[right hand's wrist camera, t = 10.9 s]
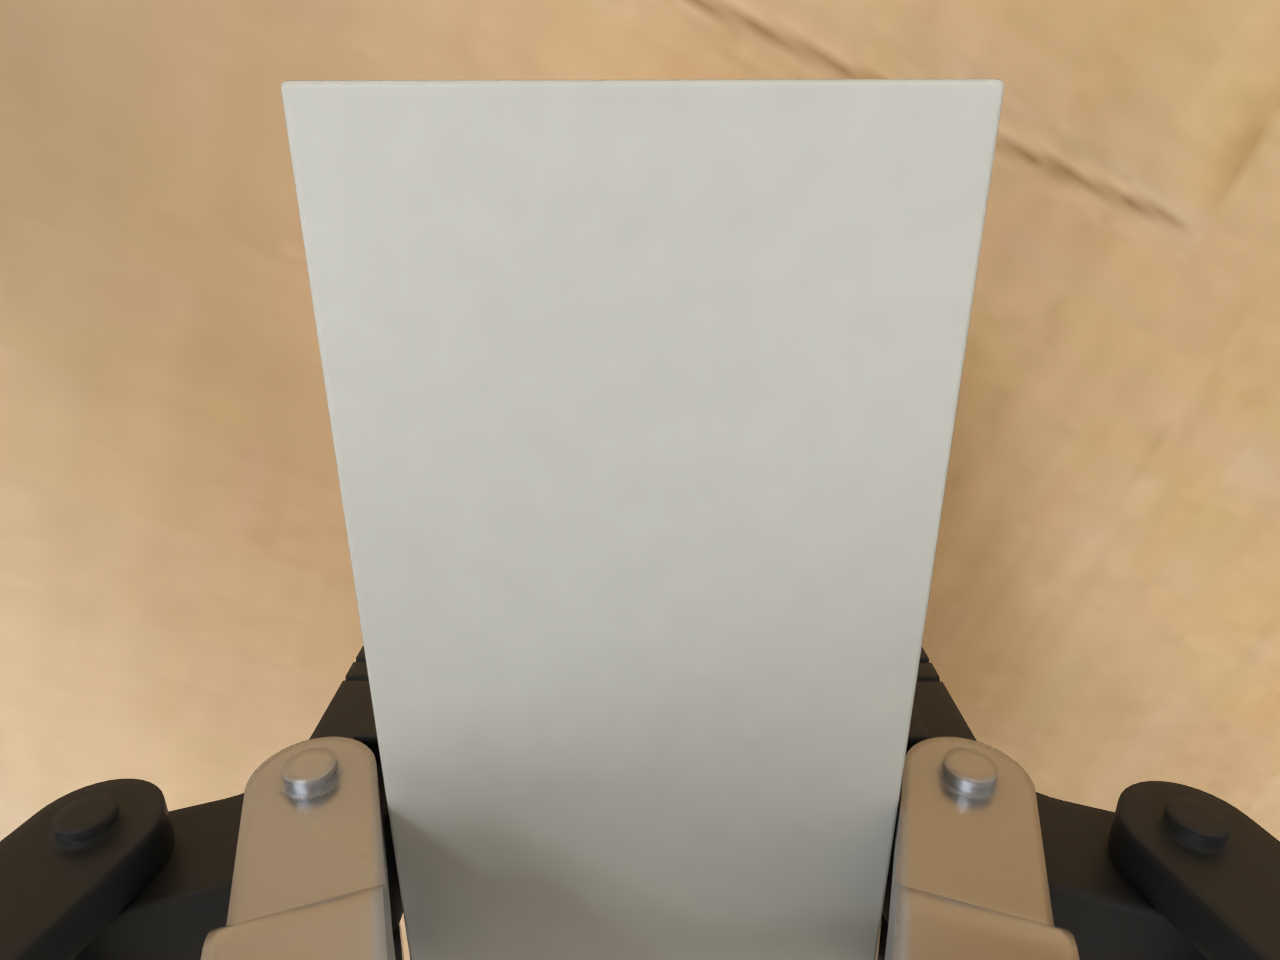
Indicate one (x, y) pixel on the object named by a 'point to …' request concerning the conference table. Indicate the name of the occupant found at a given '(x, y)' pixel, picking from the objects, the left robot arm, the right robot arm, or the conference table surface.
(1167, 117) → the conference table surface
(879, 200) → the beam
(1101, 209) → the conference table surface
